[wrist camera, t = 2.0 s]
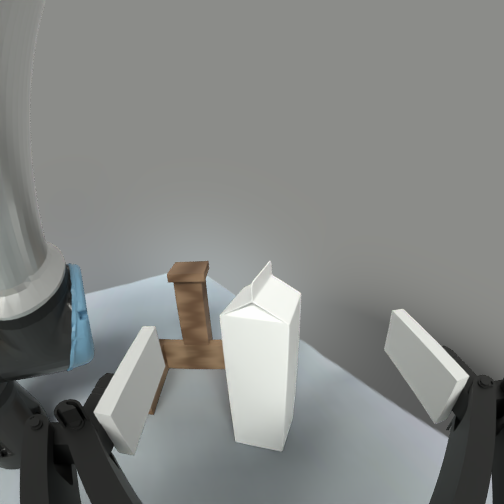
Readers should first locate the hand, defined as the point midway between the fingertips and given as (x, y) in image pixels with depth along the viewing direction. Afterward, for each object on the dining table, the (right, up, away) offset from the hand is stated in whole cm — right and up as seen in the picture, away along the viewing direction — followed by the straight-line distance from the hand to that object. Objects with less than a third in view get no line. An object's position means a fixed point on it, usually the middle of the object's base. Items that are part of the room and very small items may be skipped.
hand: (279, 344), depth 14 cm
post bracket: (-10, -15, +25) cm, 31 cm away
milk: (0, -18, +16) cm, 24 cm away
